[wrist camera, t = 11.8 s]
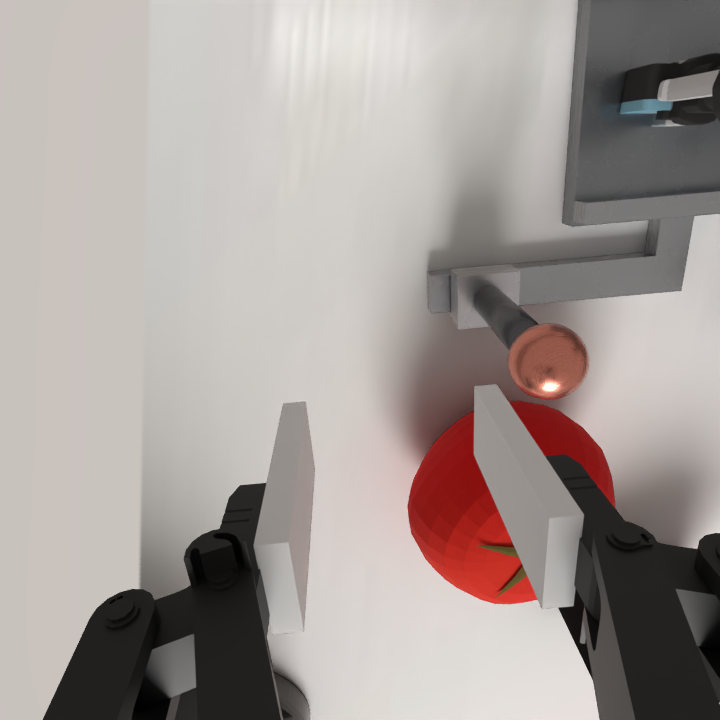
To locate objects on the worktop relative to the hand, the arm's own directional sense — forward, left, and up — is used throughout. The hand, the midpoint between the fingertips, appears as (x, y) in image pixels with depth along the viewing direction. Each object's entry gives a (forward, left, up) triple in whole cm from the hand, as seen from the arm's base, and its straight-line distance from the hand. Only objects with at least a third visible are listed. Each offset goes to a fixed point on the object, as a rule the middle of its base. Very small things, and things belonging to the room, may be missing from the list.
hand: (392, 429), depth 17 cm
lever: (+7, 0, -15) cm, 17 cm away
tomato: (+8, -13, -17) cm, 23 cm away
